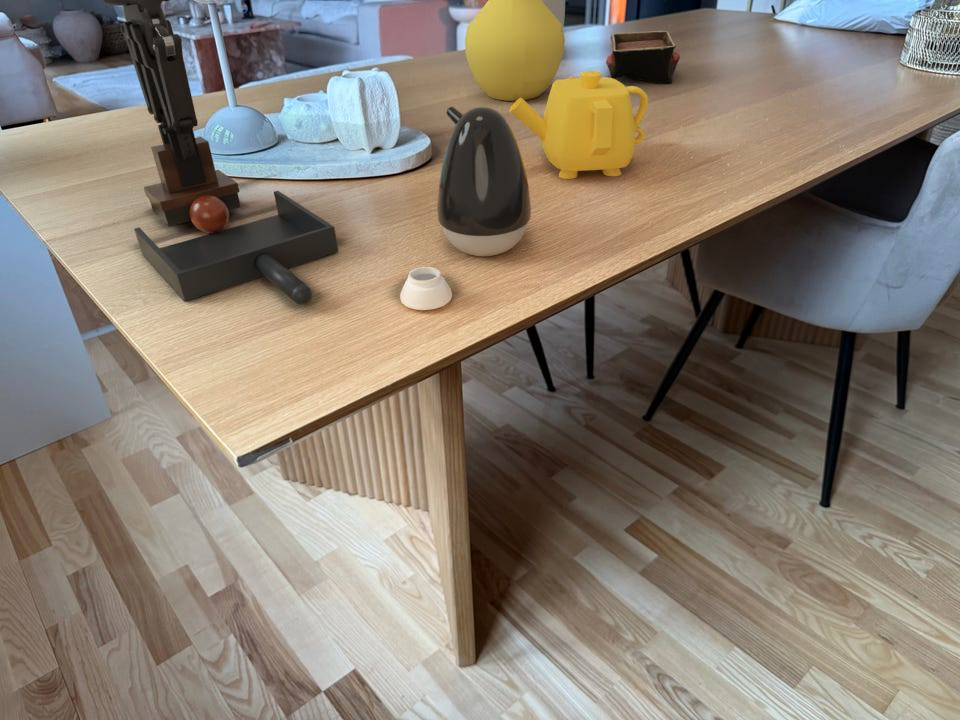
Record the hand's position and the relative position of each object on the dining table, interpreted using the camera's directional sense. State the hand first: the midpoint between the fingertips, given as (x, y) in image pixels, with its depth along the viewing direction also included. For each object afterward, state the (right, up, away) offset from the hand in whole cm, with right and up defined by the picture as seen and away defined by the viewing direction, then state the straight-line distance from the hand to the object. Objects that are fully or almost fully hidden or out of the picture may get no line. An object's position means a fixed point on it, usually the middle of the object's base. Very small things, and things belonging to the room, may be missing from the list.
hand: (189, 180), depth 85 cm
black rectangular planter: (+68, +36, +58) cm, 97 cm away
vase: (+42, +29, +49) cm, 71 cm away
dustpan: (+11, -12, -10) cm, 19 cm away
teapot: (+49, +5, +14) cm, 51 cm away
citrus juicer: (+46, +49, +78) cm, 103 cm away
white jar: (+30, -16, -16) cm, 38 cm away
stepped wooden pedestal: (0, -3, +2) cm, 4 cm away
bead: (+3, -5, -2) cm, 6 cm away
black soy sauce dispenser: (+36, -9, -6) cm, 38 cm away
